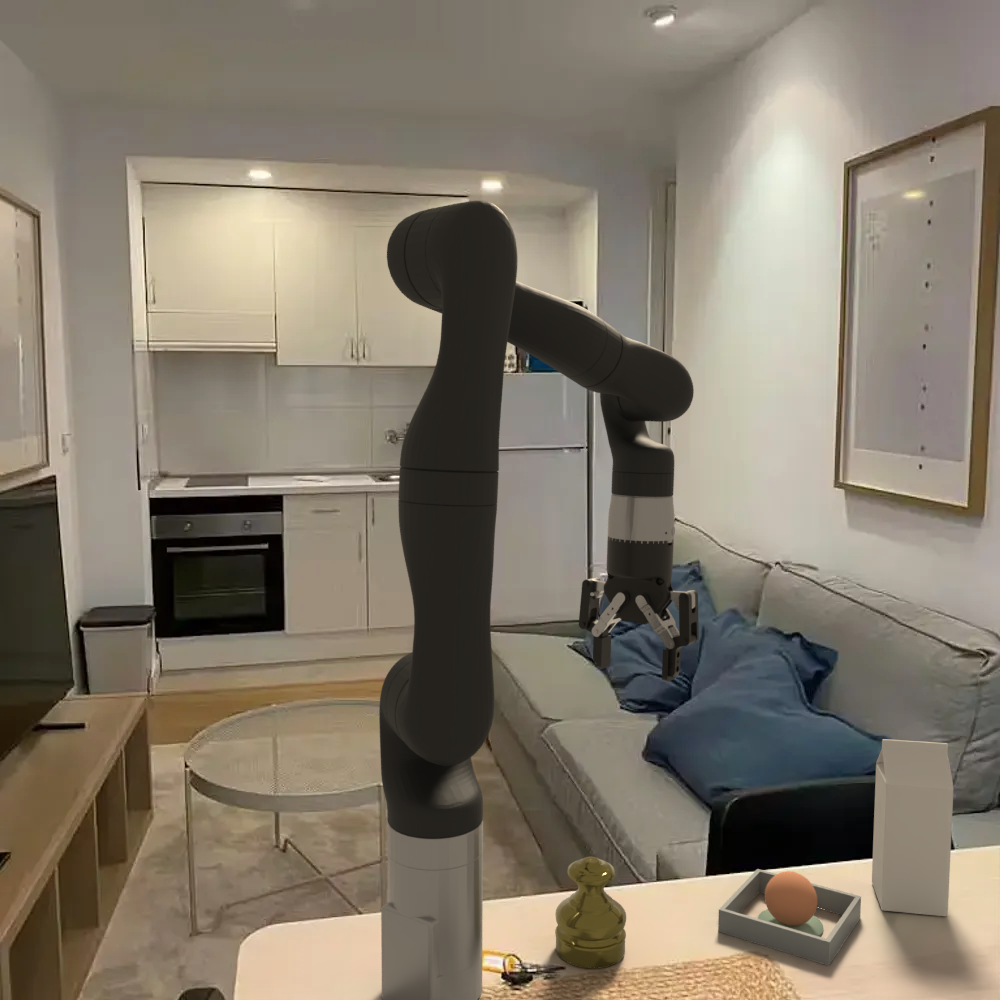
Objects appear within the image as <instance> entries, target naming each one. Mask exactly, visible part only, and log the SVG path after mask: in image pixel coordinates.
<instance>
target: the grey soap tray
mask: <svg viewBox="0 0 1000 1000" xmlns="http://www.w3.org/2000/svg"><path fill="white" fill-rule="evenodd" d="M777 874H778V873H774V872H771V871H767V870H764V869H759V868H757V869H755V871H754V872H753V873H752V874H751V875H750V876H749V877H748V878H747V879H746V880H745V881H744V882H743V884H742V885H740V887H738V888H737V890H736V891H734V893H733V894H732V895H731V896H730V897H729V898H728V899H727V900H726V901H725V902H724V903H723V905H721V907H719V908H718V921H717V922H718V923H717V925H718V926H717V928H718V929H717V932H719V933H722V934H725V935H729V936H732V937H734V938H738V939H741V940H744V941H748V942H751V943H754V944H758V945H760V946H761V945H762V946H764V947H767V948H771V949H774V950H777V951H780V952H783V953H786V954H790V955H792V956H797V957H799V958H804V959H806V960H810V961H812V962H816V963H819V964H823V965H825V966H826V965H827V966H830V965H831V963H832V962H833V960H834V959H835V957H836V955H837V954H838V953H839V951H840V950H841V948H842V947H843V945H844V944H845V942H846V940H847V939H848V937H849V935H850V934H851V933H852V932H853V930H854V929H855V927H856V926H857V924H856V923H858V922H859V920H860V919H861V912H862V911H861V909H862V907H861V905H862V904H861V903H862V896H860V895H857V894H854V893H850V892H845V891H842V890H838V889H834V888H831V887H828V886H823V885H821V884H820V885H819V884H816V883H812V882H810V883H811V884H812V885H813V887H814V889H815V892H816V895H817V907H819V908H822V909H821V910H823V909H825V910H824V911H826V910H827V912H830V911H831V913H833V914H837V913H838V915H841V914H842V916H841V917H840V918H839V920H837V923H836V924H835V925H834V927H833V928H832V929H831V931H830V933H829V934H828V935H827V937H826V938H824V937H821V936H822V934H823V932H824V925H823V922H822V921H821V919H819V918H818V917H816V916H815V915H813V916H812V918H811V919H810V920H809V921H807V922H806V923H804V924H801V925H797V926H790V925H786V924H783V923H781V922H779V921H778V920H776V919H775V918H774V917H773V916H772V915H771V913H770V912H769V910H768V908H767V909H765V910H762V911H761V912H760V913H759V914H758V917H757V918H756V917H755V916H754V917H753V916H750V915H747V914H743V913H742V912H743V911H744V910H745V909H746V907H748V906H749V904H750V903H751V902H753V900H754V899H755V898H756V896H757V895H759V893H763V894H765V889H766V886H767V884H768V882H769V881H770V880H771V878H773V877H774V876H775V875H777ZM819 908H818V909H819Z"/></svg>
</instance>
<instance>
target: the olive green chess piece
mask: <svg viewBox="0 0 1000 1000" xmlns="http://www.w3.org/2000/svg"><path fill="white" fill-rule="evenodd" d="M615 870H616V869H615V868H614V866H613V865H612V864H611V863H610V862H607V861H605V860H603V859H601V858H598V857H597V856H596V857H595V856H586V857H584V858H580V859H577V860H575V861H572V863H570V864H569V865H568V867H567V875H568V877H569V878H570V879H571V881H574V882H575V883H576V885H577V886H578V888H577V890H576V891H575V892H574V893H571V894H570V896H568V897H566V898H565V899H562V901H561V902H560V903H559V904H558V906H556V909H555V921H556V924H557V925H556V927H555V929H554V931H555V932H554V933H555V951H556V953H557V955H558V956H559V957H560V958H561V959H562V960H563V961H564V962H566V963H568V964H569V965H573V966H575V967H579V968H584V969H602V968H608V967H611V966H613V965H616V964H617V963H618V962H620V961H621V960H622V959H623V958H624V956H625V954H626V938H627V933H626V932H627V931H626V930H625V926H626V922H627V913H626V910H625V908H624V907H623V906H622V904H620V903H619V902H618V901H616V900H615V899H613V897H611V896H610V894H608V893H607V892H606V891H605V890H604V889H605V887H606V885H607V884H608V883H611V881H612V880H614V879H615V876H616V871H615Z"/></svg>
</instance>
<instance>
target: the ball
mask: <svg viewBox="0 0 1000 1000" xmlns="http://www.w3.org/2000/svg"><path fill="white" fill-rule="evenodd" d="M776 874H777V875H775V876H774V877H773V878H771V880H770V881H769V882H768V884H767V886H766V889H765V893H764V902H765V905H766V908H767V909H768V910H769V912H770V913H771V915H772V916H773V917H774V918H775V919H776V920H778V921H779V922H781V923H783V924H786V925H790V926H797V925H801V924H804V923H806V922H807V921H809V920H810V919H811V918H812V916H815V915H814V914H815V913H816V911H817V909H818V908H817V895H816V892H815V889H814V887H813V885H812V884H813V883H812V882H811V881H810V880H809V879H808V878H806V877H805V876H804V875H802V874H800V873H798V872H794V871H789V870H787V871H781V872H779V873H776ZM811 883H812V884H811Z"/></svg>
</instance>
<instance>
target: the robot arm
mask: <svg viewBox="0 0 1000 1000" xmlns="http://www.w3.org/2000/svg"><path fill="white" fill-rule="evenodd" d="M516 240H517V239H516V236H515V233H514V229H513V227H512V224H511V222H510V220H509V218H508V216H507V215H506V214H505V212H504V211H503V210H502V209H501V208H499V207H498V206H497V205H496V204H495V203H492V202H491V201H490V202H489V201H488V200H487V201H486V200H469V201H464V202H459V203H458V202H456V203H452V204H448V205H443V206H437V207H432V208H427V209H424V210H420V211H418V212H415V213H413V214H411V215H409V216H407V217H404V218H403V219H402V220H401V221H400V222H399V223H398V224H396V225H395V228H394V229H393V230H392V232H391V233H390V237H389V238H388V242H387V247H386V260H387V261H386V263H387V268H388V270H389V271H388V272H389V274H390V277H391V278H392V281H393V283H394V285H395V286H396V288H397V289H398V290H399V291H400V293H401V294H403V295H404V297H406V298H407V299H408V300H409V301H411V302H412V303H414V304H417V305H418V306H422V307H424V308H426V309H429V310H431V311H434V312H437V313H439V314H441V329H440V340H439V341H440V342H439V350H438V355H437V359H436V364H435V366H434V370H433V372H432V374H431V378H430V380H429V382H428V384H427V386H426V389H425V391H424V392H423V395H422V397H421V399H420V401H419V403H418V405H417V407H416V409H415V411H414V413H413V415H412V418H411V420H410V422H409V424H408V427H407V429H406V432H405V435H404V438H403V442H402V445H401V449H400V459H399V473H398V474H399V478H398V500H397V501H398V503H397V504H398V505H397V507H398V525H399V533H400V540H401V547H402V553H403V558H404V562H405V563H404V564H405V567H406V571H407V576H408V580H409V581H408V582H409V587H410V590H411V596H412V604H413V616H414V617H413V618H414V621H413V622H414V623H413V624H414V625H413V638H412V639H413V641H412V651H411V652H408V654H405V655H404V656H402V657H401V658H399V660H397V662H395V663H394V664H393V666H392V667H391V668H390V670H389V671H388V673H387V674H386V677H385V678H384V681H383V684H382V687H381V691H380V696H379V708H378V709H379V711H378V712H379V713H378V714H379V715H378V716H379V718H378V719H379V748H380V750H379V751H380V752H379V753H380V773H381V775H380V776H381V783H382V789H383V793H384V797H385V802H386V809H387V810H386V811H387V813H386V815H387V817H386V819H387V903H384V905H383V906H382V907H381V909H380V912H381V913H380V914H381V916H380V917H381V918H380V921H381V924H380V925H381V926H380V927H381V935H380V936H381V940H380V941H381V1000H479V998H480V997H481V994H482V992H483V915H484V914H483V910H484V909H483V908H484V907H483V901H484V900H483V896H484V895H483V891H484V890H483V889H484V888H483V887H484V886H483V885H484V884H483V883H484V882H483V878H484V877H483V872H484V871H483V868H484V864H483V861H484V860H483V857H484V855H483V854H484V852H483V851H484V828H483V827H484V800H483V792H482V789H481V786H480V784H479V781H478V778H477V776H476V772H475V769H474V766H473V761H472V757H473V756H474V755H475V754H477V752H478V751H479V750H480V749H481V748H482V746H483V745H484V743H485V742H486V740H487V739H488V736H489V734H490V731H491V730H492V725H493V721H494V715H495V685H494V683H495V682H494V669H493V668H494V667H493V652H492V651H493V650H492V649H493V648H492V634H491V626H492V625H491V605H492V604H491V603H492V589H493V577H494V576H493V575H494V558H495V556H494V555H495V537H496V536H495V535H496V525H497V524H496V523H497V522H496V521H497V513H498V511H497V510H498V494H499V493H498V492H499V471H500V470H499V469H500V461H499V460H500V452H499V451H500V429H501V427H500V426H501V417H502V416H501V415H502V414H501V412H502V399H503V398H502V397H503V388H504V387H503V385H504V373H505V361H506V354H507V346H508V344H510V345H512V346H513V347H516V348H517V349H520V350H522V351H523V352H524V353H525V352H526V353H527V354H529V355H531V356H532V357H534V358H536V359H538V360H539V361H541V362H542V363H544V364H546V365H547V366H549V367H551V368H552V369H554V370H556V371H557V372H558V373H560V374H562V376H563V375H564V376H565V377H566V378H568V379H570V380H571V381H573V382H575V383H576V384H577V385H579V386H580V387H581V388H584V389H587V391H591V392H594V393H597V394H599V401H600V403H599V404H600V407H601V408H600V409H601V412H602V413H601V414H602V418H603V421H604V423H603V424H604V427H605V431H606V436H607V441H608V445H609V448H610V454H611V457H612V466H611V467H612V468H611V469H612V471H611V494H610V495H611V496H610V504H609V508H608V520H607V545H606V547H607V549H606V573H607V579H606V581H604V580H601V578H599V577H591V578H587V579H584V580H583V581H582V583H581V592H580V593H581V594H580V596H581V597H580V603H579V614H578V615H579V616H578V619H579V620H578V626H579V628H580V629H581V630H587V631H588V632H590V634H592V636H593V639H592V642H593V643H592V649H593V650H592V660H593V662H594V663H595V665H596V666H595V667H596V668H597V669H601V670H604V669H606V668H609V667H610V665H611V658H612V657H611V656H612V653H611V652H612V635H610V634H609V633H611V631H612V630H613V629H614V627H615V626H616V625H617V624H618V623H619V622H626V623H627V622H635V623H637V624H639V625H650V626H651V628H652V630H653V632H654V633H656V634H657V635H658V636H659V637H660V640H661V641H662V643H663V644H664V646H665V648H662V660H661V661H662V663H661V664H662V665H661V680H662V681H665V682H672V681H674V680H675V679H676V677H677V676H679V674H680V672H681V661H682V660H681V656H682V649H683V647H687V646H690V645H691V644H695V643H697V642H698V641H699V632H700V631H699V594H698V592H697V591H696V590H694V589H692V590H691V589H690V590H686V591H685V590H684V591H683V590H674V588H673V585H672V577H673V569H674V567H673V566H674V545H675V544H674V543H675V542H674V539H675V537H674V536H675V533H676V527H675V507H674V506H675V505H674V489H675V487H674V486H675V483H674V482H675V453H674V451H673V449H672V448H670V447H669V446H668V445H665V444H664V443H660V442H657V441H655V440H652V439H651V437H650V435H649V431H648V429H647V425H646V422H656V423H657V422H658V423H659V422H661V423H662V422H663V423H664V422H671V421H674V420H677V419H679V418H680V417H682V416H683V415H684V414H685V413H687V412H688V410H689V408H690V407H691V405H692V402H693V398H694V383H693V380H692V378H691V375H690V373H689V371H688V370H687V368H686V367H685V366H684V364H682V362H681V361H679V359H677V358H675V357H674V356H672V355H670V354H668V353H666V352H664V351H662V350H660V349H657V348H655V347H653V346H650V345H648V344H646V343H643V342H641V341H638V340H635V339H633V338H632V339H631V338H629V337H627V336H625V335H623V334H622V332H620V331H619V330H617V329H616V328H614V327H613V326H612V325H610V324H609V323H608V322H606V321H605V320H604V319H602V318H600V317H599V316H597V315H596V314H595V313H593V312H592V311H590V310H588V309H587V308H585V307H583V306H581V305H579V304H576V303H575V302H573V301H569V300H567V299H565V298H561V297H560V296H557V295H555V294H554V295H553V294H551V293H548V292H545V291H543V290H540V289H538V288H534V287H532V286H529V285H527V284H524V283H522V282H520V281H517V276H518V248H517V241H516ZM604 595H605V597H606V598H607V600H608V603H609V605H608V606H607V607H606V608H605V609H604V611H603V612H602V614H600V616H599V613H600V612H599V611H600V609H599V608H600V601H601V600H600V599H601V598H602V597H603V596H604ZM672 602H673V603H674V606H675V609H676V610H678V622H679V623H678V625H679V627H677V625H676V620H675V619H674V616H673V615H672V613H671V612H670V610H669V609H668V608H669V606H670V605H671V603H672ZM678 628H679V629H678Z"/></svg>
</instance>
